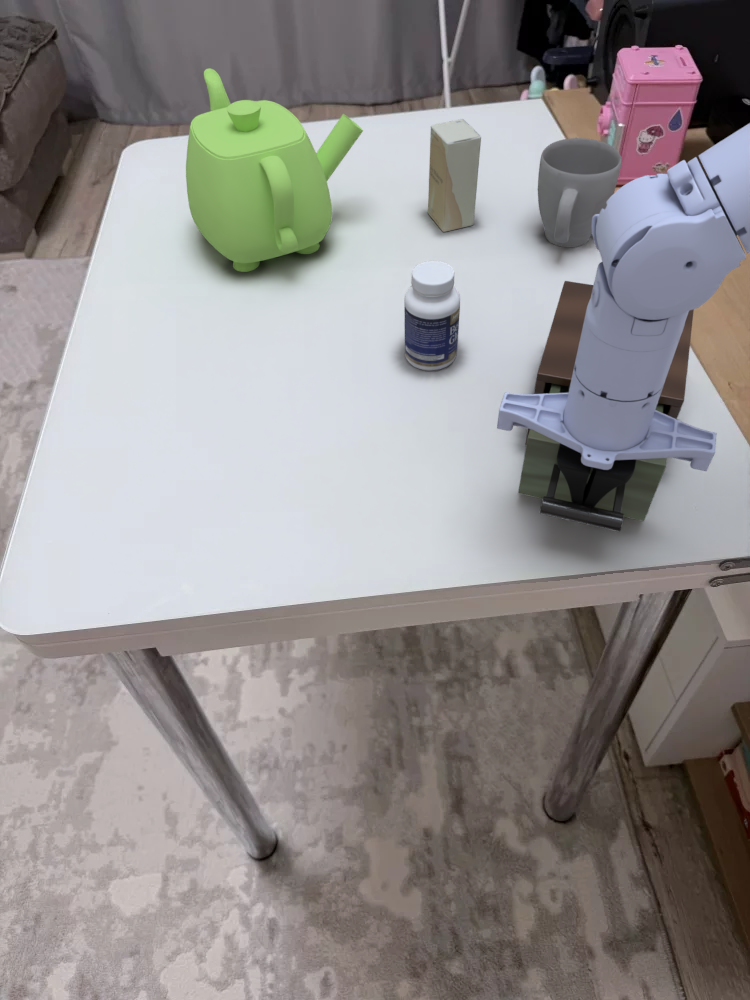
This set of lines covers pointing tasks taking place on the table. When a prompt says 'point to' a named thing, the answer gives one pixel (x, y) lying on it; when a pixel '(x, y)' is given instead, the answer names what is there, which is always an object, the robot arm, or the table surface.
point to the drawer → (553, 488)
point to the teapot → (260, 178)
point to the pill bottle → (431, 316)
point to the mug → (575, 187)
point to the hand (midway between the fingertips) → (581, 504)
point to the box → (453, 174)
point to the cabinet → (566, 342)
